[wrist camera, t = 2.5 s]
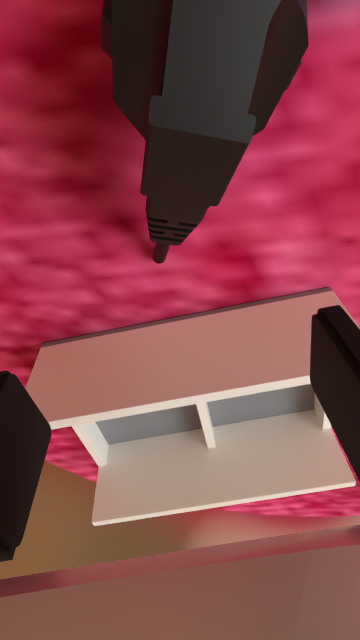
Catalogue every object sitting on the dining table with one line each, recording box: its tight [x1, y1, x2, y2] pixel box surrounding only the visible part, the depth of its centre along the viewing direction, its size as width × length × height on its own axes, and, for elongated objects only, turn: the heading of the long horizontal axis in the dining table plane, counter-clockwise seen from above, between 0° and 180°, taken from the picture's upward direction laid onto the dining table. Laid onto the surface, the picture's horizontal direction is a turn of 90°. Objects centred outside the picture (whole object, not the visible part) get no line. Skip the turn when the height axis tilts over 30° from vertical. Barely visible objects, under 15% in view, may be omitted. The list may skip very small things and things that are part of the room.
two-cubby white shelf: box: [25, 287, 360, 526], centre depth 22 cm, size 12×18×6 cm, turn 101°
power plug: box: [101, 0, 308, 263], centre depth 13 cm, size 6×8×12 cm
